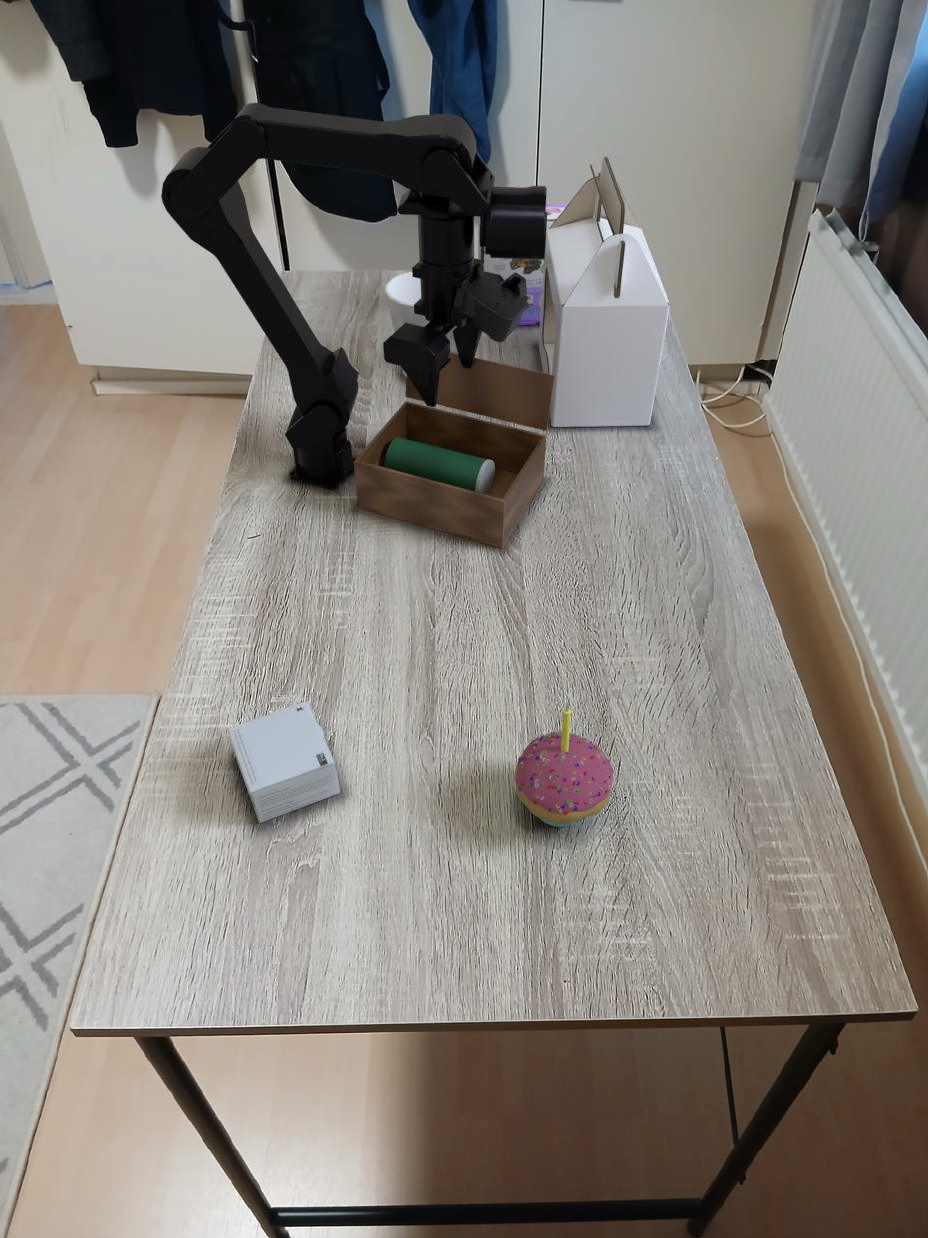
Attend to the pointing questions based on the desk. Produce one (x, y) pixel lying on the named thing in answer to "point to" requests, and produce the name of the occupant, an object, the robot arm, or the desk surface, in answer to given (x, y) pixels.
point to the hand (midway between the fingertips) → (449, 386)
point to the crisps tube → (440, 465)
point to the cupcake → (563, 777)
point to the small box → (284, 761)
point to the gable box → (601, 311)
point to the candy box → (523, 270)
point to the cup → (404, 301)
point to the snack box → (447, 504)
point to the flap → (494, 391)
